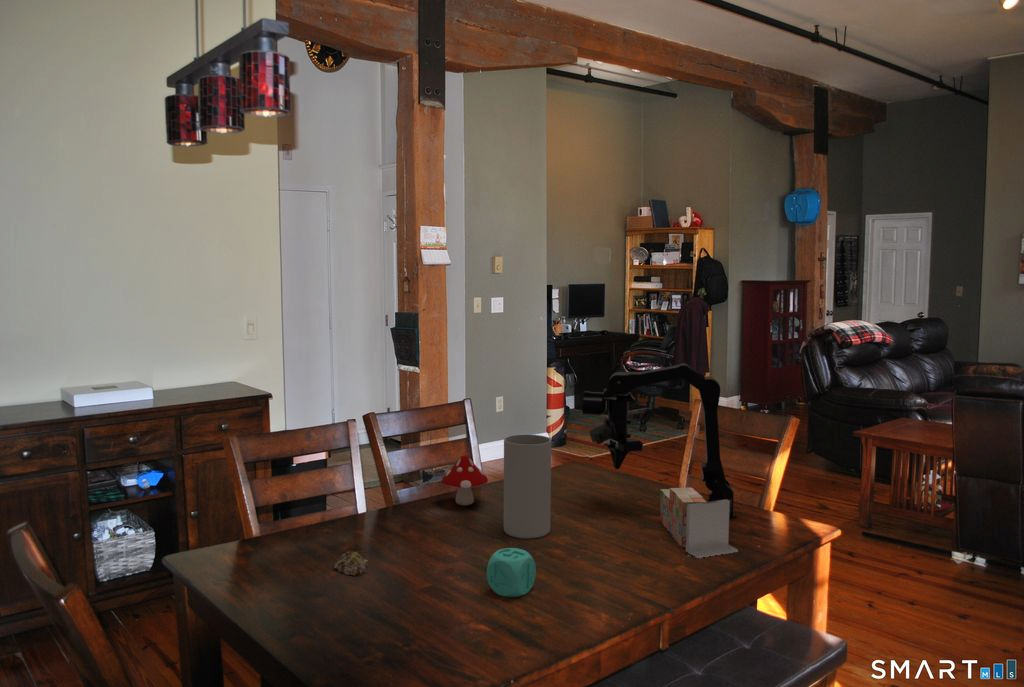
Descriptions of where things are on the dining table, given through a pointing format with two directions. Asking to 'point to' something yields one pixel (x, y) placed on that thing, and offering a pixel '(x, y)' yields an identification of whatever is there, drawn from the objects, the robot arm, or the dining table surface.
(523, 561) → the decorative dice
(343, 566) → the mineral rock
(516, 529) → the cylinder vase
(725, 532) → the bookend
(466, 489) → the decorative mushroom
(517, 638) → the dining table surface
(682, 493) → the stack of blocks
